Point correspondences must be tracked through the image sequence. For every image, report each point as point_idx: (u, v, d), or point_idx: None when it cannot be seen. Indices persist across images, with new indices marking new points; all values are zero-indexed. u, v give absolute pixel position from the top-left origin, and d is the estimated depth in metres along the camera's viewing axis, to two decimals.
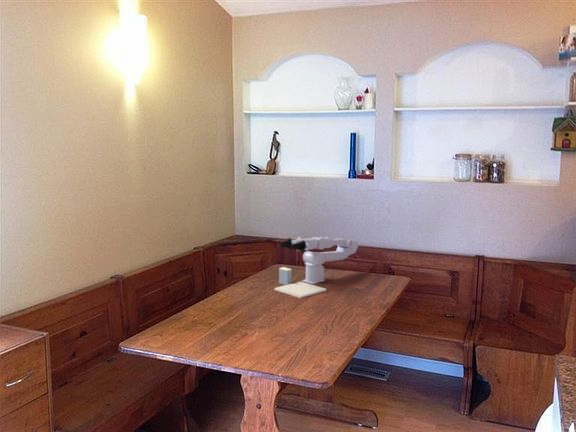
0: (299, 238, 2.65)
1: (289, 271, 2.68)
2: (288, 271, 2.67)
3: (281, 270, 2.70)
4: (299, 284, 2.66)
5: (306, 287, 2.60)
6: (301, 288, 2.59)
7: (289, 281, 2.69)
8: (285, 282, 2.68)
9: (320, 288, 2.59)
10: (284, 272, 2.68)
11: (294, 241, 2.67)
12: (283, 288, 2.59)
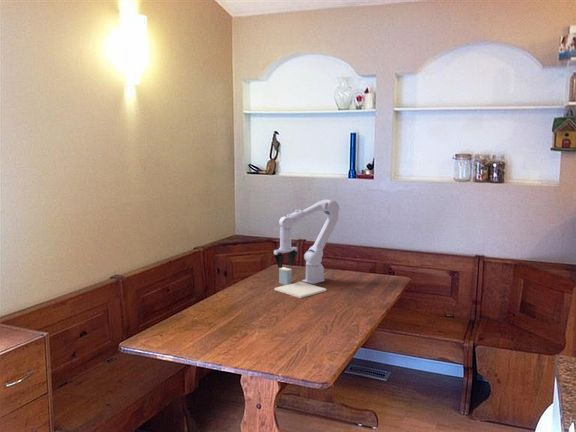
0: None
1: (289, 271, 2.68)
2: (288, 271, 2.67)
3: (281, 270, 2.70)
4: (299, 284, 2.66)
5: (306, 287, 2.60)
6: (301, 288, 2.59)
7: (289, 281, 2.69)
8: (285, 282, 2.68)
9: (320, 288, 2.59)
10: (284, 272, 2.68)
11: None
12: (283, 288, 2.59)
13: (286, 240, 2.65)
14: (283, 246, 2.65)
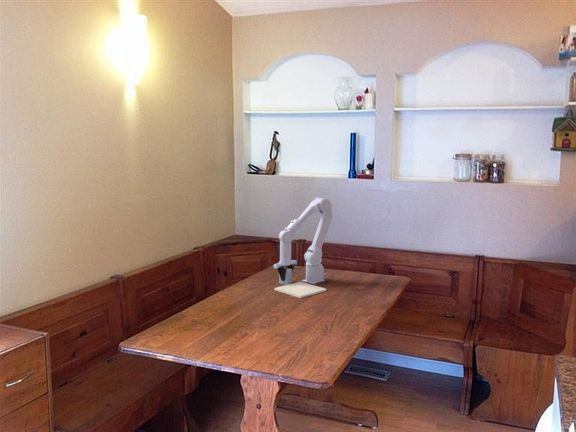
0: None
1: (289, 271, 2.68)
2: (288, 271, 2.67)
3: None
4: (299, 284, 2.66)
5: (306, 287, 2.60)
6: (301, 288, 2.59)
7: (289, 281, 2.69)
8: (285, 282, 2.68)
9: (320, 288, 2.59)
10: None
11: None
12: (283, 288, 2.59)
13: (286, 254, 2.66)
14: (283, 259, 2.66)
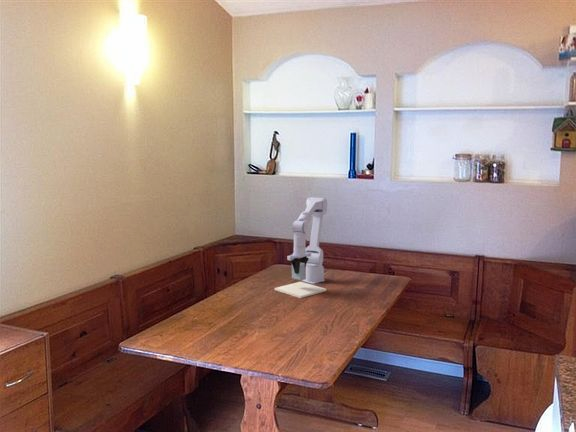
0: None
1: (302, 265, 2.55)
2: (301, 265, 2.55)
3: None
4: (299, 284, 2.66)
5: (306, 287, 2.60)
6: (301, 288, 2.59)
7: (302, 275, 2.56)
8: (299, 276, 2.55)
9: (320, 288, 2.59)
10: None
11: None
12: (283, 288, 2.59)
13: (304, 245, 2.54)
14: (297, 251, 2.53)
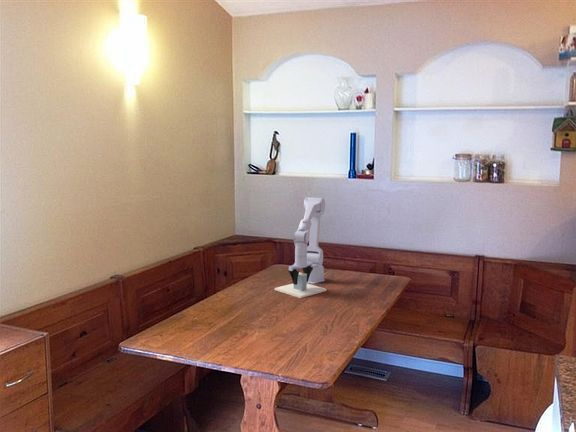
0: None
1: (304, 276, 2.54)
2: (303, 276, 2.54)
3: None
4: None
5: None
6: None
7: (304, 286, 2.55)
8: (300, 287, 2.55)
9: (320, 288, 2.59)
10: (299, 277, 2.55)
11: None
12: (283, 288, 2.59)
13: (306, 255, 2.53)
14: (299, 261, 2.52)
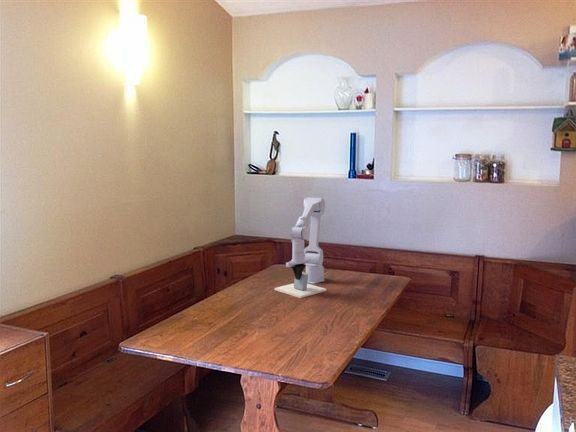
0: None
1: (306, 275, 2.55)
2: (305, 275, 2.54)
3: None
4: None
5: None
6: None
7: (304, 286, 2.55)
8: (301, 286, 2.55)
9: (320, 288, 2.59)
10: None
11: None
12: (283, 288, 2.59)
13: (303, 251, 2.52)
14: (296, 257, 2.51)
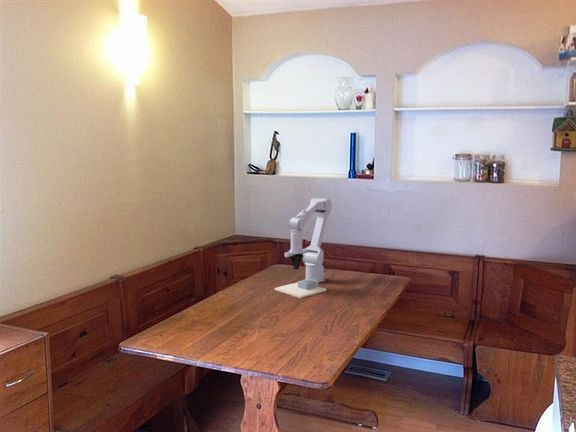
0: None
1: (316, 284, 2.61)
2: (316, 282, 2.61)
3: (310, 279, 2.64)
4: None
5: None
6: (301, 288, 2.59)
7: (309, 286, 2.57)
8: (307, 282, 2.58)
9: (320, 288, 2.59)
10: (312, 280, 2.62)
11: None
12: (283, 288, 2.59)
13: (300, 242, 2.57)
14: (294, 248, 2.57)
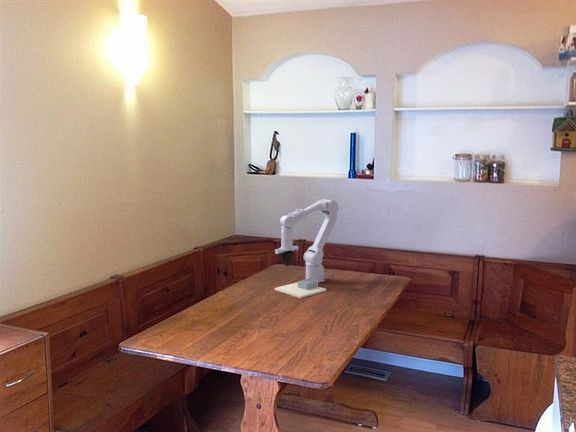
0: None
1: (316, 284, 2.61)
2: (316, 282, 2.61)
3: (310, 279, 2.64)
4: None
5: None
6: (301, 288, 2.59)
7: (309, 286, 2.57)
8: (307, 282, 2.58)
9: (320, 288, 2.59)
10: (312, 280, 2.62)
11: None
12: (283, 288, 2.59)
13: (288, 239, 2.63)
14: (285, 245, 2.63)
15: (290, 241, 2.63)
